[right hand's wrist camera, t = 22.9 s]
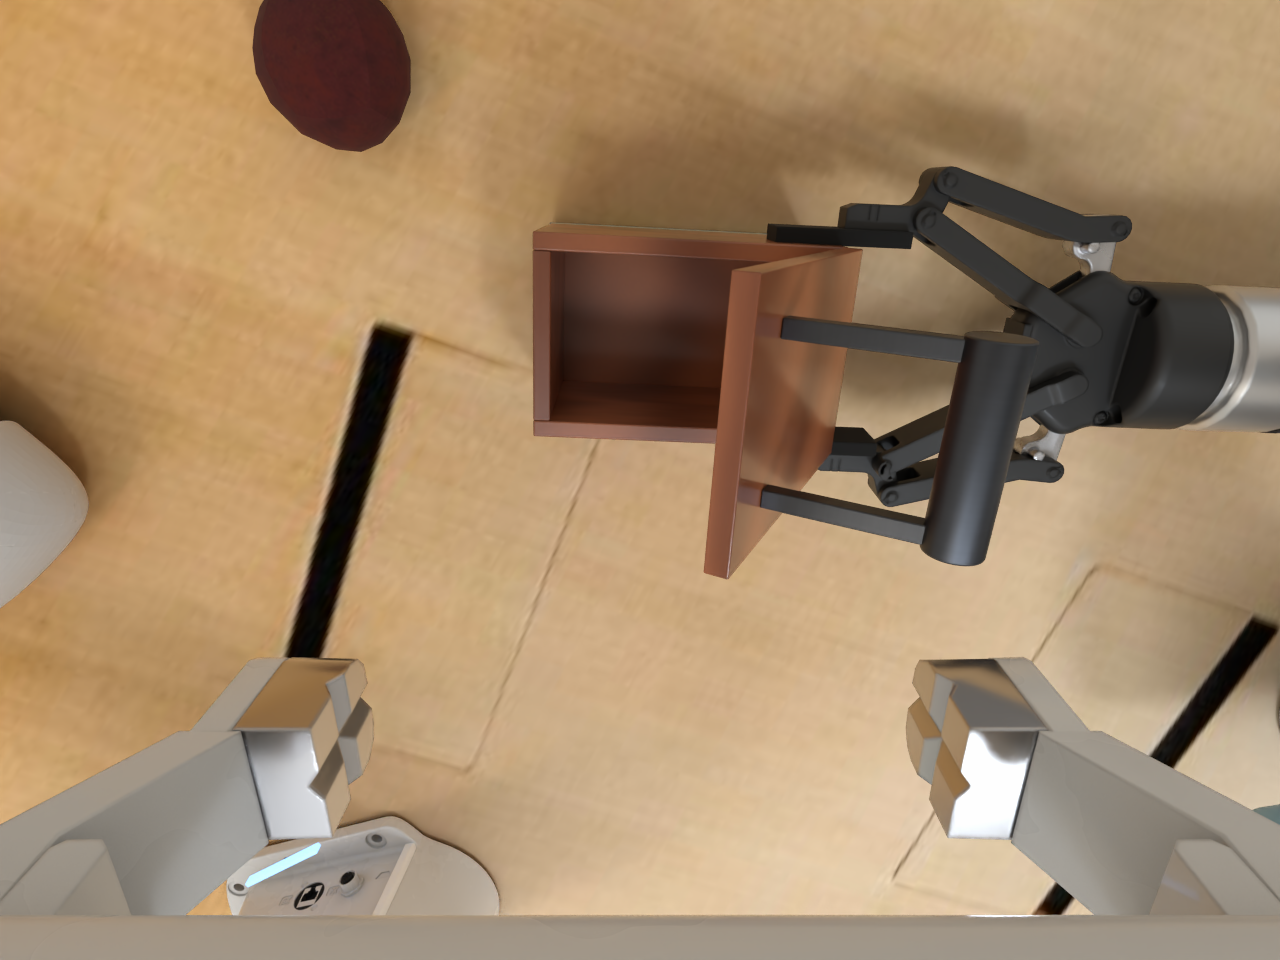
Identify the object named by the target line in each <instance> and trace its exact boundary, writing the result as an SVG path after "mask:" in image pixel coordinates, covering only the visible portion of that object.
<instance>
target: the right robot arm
mask: <svg viewBox="0 0 1280 960" xmlns="http://www.w3.org/2000/svg"><path fill="white" fill-rule="evenodd" d="M366 685H367V678H366V674H365V669H364V664H363V663H362V662H360V661H359V660H358V659H333V658H255V659H252V660H250V661H248V662H247V663H246V665H245V666H244V667H243V668H242V669H241V671H240V672H239V673H238V674H237V675H236V677H235V678H234V679H233V680H232V681H231V683H230V684H229V685H228V686H227V687H226V689H225V690H224V691H223V692H222V693H221V695H220V696H219V697H218V698H217V699H216V701H215V702H214V703H213V704H212V705H211V706H210V708H209V709H208V710H207V711H206V712H205V714H204V715H203V716H202V717H201V718H200V720H199V721H198V722H197V723H196V724H195V726H194V727H193V728H192V729H191V730H190V731H178V732H176V733H174V734H172V735H170V736H169V737H167V738H165V739H163V740H161V741H159V742H157V743H155V744H153V745H151V746H149V747H148V748H146V749H144V750H142V751H140V752H138V753H136V754H134V755H132V756H130V757H128V758H127V759H125V760H123V761H121V762H119V763H117V764H115V765H113V766H111V767H109V768H107V769H106V770H104V771H102V772H100V773H98V774H96V775H94V776H92V777H90V778H88V779H86V780H85V781H83V782H81V783H79V784H77V785H75V786H73V787H71V788H69V789H67V790H65V791H64V792H62V793H60V794H58V795H56V796H54V797H52V798H50V799H48V800H46V801H44V802H42V803H41V804H39V805H37V806H35V807H33V808H31V809H29V810H27V811H25V812H23V813H21V814H20V815H18V816H16V817H14V818H12V819H10V820H8V821H6V822H4V823H2V824H0V960H1280V825H1279V824H1277V823H1275V822H1273V821H1271V820H1269V819H1268V818H1266V817H1264V816H1262V815H1260V814H1258V813H1256V812H1254V811H1252V810H1250V809H1249V808H1247V807H1245V806H1243V805H1241V804H1239V803H1237V802H1235V801H1233V800H1231V799H1229V798H1228V797H1226V796H1224V795H1222V794H1220V793H1218V792H1216V791H1214V790H1212V789H1210V788H1209V787H1207V786H1205V785H1203V784H1201V783H1199V782H1197V781H1195V780H1193V779H1191V778H1189V777H1188V776H1186V775H1184V774H1182V773H1180V772H1178V771H1176V770H1174V769H1172V768H1170V767H1169V766H1167V765H1165V764H1163V763H1161V762H1159V761H1157V760H1155V759H1153V758H1151V757H1150V756H1148V755H1146V754H1144V753H1142V752H1140V751H1138V750H1136V749H1134V748H1132V747H1130V746H1129V745H1127V744H1125V743H1123V742H1121V741H1119V740H1117V739H1115V738H1113V737H1111V736H1110V735H1108V734H1106V733H1104V732H1102V731H1090V730H1089V729H1088V728H1087V727H1086V726H1085V724H1084V723H1083V722H1082V721H1081V720H1080V718H1079V717H1078V716H1077V715H1076V714H1075V713H1074V711H1073V710H1072V709H1071V708H1070V707H1069V705H1068V704H1067V703H1066V702H1065V701H1064V699H1063V698H1062V697H1061V696H1060V695H1059V693H1058V692H1057V691H1056V690H1055V689H1054V687H1053V686H1052V685H1051V684H1050V683H1049V682H1048V680H1047V679H1046V678H1045V677H1044V676H1043V674H1042V673H1041V672H1040V671H1039V670H1038V668H1037V667H1036V666H1035V665H1034V664H1033V662H1032V661H1030V660H1028V659H1026V658H1024V657H1009V658H988V659H948V660H919V662H918V664H917V666H916V668H915V672H914V678H913V685H914V687H915V689H916V691H917V693H918V694H919V696H920V697H919V698H918V699H917V700H916V701H915V702H914V703H913V704H912V705H911V706H910V707H909V708H908V714H907V722H906V736H907V747H908V751H909V754H910V758H911V761H912V764H913V766H914V768H915V770H916V772H917V775H919V776H920V777H921V778H923V779H924V780H925V781H927V782H928V783H930V784H931V785H932V786H931V792H930V797H929V800H930V802H931V804H932V806H933V808H934V810H935V813H936V815H937V817H938V819H939V821H940V823H941V825H942V827H943V829H944V831H945V833H946V835H947V837H948V838H967V839H1002V840H1012V841H1011V843H1012V844H1013V845H1014V846H1015V847H1017V848H1018V849H1019V850H1020V851H1021V852H1022V853H1023V854H1025V855H1026V856H1027V857H1028V858H1029V859H1030V860H1032V861H1033V862H1034V863H1035V864H1036V865H1037V866H1039V867H1040V868H1041V869H1042V870H1043V871H1044V872H1045V873H1047V874H1048V875H1049V876H1050V877H1051V878H1052V879H1054V880H1055V881H1056V882H1057V883H1058V884H1059V885H1061V886H1062V887H1063V888H1064V889H1065V890H1066V891H1067V892H1069V893H1070V894H1071V895H1072V896H1073V897H1074V898H1076V899H1077V900H1078V901H1079V902H1080V903H1081V904H1083V905H1084V906H1085V907H1086V908H1087V909H1088V910H1089V911H1091V912H1092V913H1093V914H1094V915H499V908H500V903H499V896H498V892H497V889H496V887H495V885H494V883H493V881H492V879H491V878H490V876H489V875H488V874H487V872H486V871H485V870H484V869H483V868H482V867H481V866H480V865H479V864H478V863H477V862H476V861H474V860H473V859H472V858H470V857H469V856H467V855H466V854H464V853H463V852H461V851H459V850H457V849H455V848H453V847H451V846H448V845H446V844H443V843H440V842H438V841H435V840H432V839H430V838H428V837H426V836H424V835H423V834H421V833H420V832H419V831H418V830H416V829H415V828H414V827H413V826H411V825H410V824H409V823H407V822H406V821H404V820H402V819H400V818H398V817H394V816H387V817H383V818H379V819H375V820H371V821H367V822H363V823H359V824H355V825H351V826H347V827H343V828H339V829H337V827H338V825H339V823H340V821H341V819H342V817H343V815H344V813H345V810H346V808H347V806H348V804H349V802H350V800H351V797H350V792H349V786H348V785H349V784H350V783H352V782H353V781H355V780H356V779H357V778H359V777H360V776H361V775H363V772H364V770H365V768H366V766H367V763H368V761H369V759H370V754H371V750H372V745H373V740H374V720H373V713H372V708H371V707H370V706H369V705H368V704H367V703H366V702H365V701H364V700H363V699H362V698H361V697H360V696H361V694H362V693H363V691H364V689H365V687H366ZM277 839H295V840H291V841H287V842H283V843H279V844H275V845H271V846H267V847H265V846H266V845H267V844H268V843H269V841H268V840H277ZM226 880H227V897H228V902H229V906H230V910H231V913H232V915H186V914H187V913H188V912H190V911H191V910H192V909H193V908H194V907H195V906H196V905H198V904H199V903H200V902H201V901H202V900H203V899H205V898H206V897H207V896H208V895H209V894H210V893H212V892H213V891H214V890H215V889H216V888H217V887H219V886H220V885H221V884H222V883H223V882H224V881H226Z"/></svg>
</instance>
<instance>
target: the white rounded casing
mask: <svg viewBox="0 0 1280 960" xmlns="http://www.w3.org/2000/svg"><path fill="white" fill-rule="evenodd" d="M88 507H89V501H88V496H87V493H86V490H85V488H84V486H83V485H82V483H81V481H80V480H79V479H78V477H77V476H76V475H75V473H74V472H73V471H72V470H71V469H70V468H69V467H68V466H67V465H66V464H65V463H64V462H63V461H62V460H61V459H60V458H59V457H58V456H57V455H56V454H54V453H53V452H52V451H51V450H50V449H49V448H47V447H46V446H45V445H44V444H43V443H41V442H40V441H39V440H38V439H37V438H35V437H34V436H33V435H32V434H30V433H29V432H28V431H27V430H25V429H24V428H23V427H22V426H20V425H19V424H18V423H16V422H13V421H0V608H1V607H2V606H4V605H5V604H6V603H8V602H9V601H10V600H12V599H13V598H14V597H15V596H17V595H18V594H19V593H20V592H21V591H22V590H24V589H25V588H26V587H27V586H28V585H29V584H30V583H32V582H33V581H34V580H35V579H36V578H37V577H38V576H39V575H40V574H41V573H42V572H43V571H44V570H45V569H46V568H47V567H48V566H49V565H50V564H51V563H52V562H53V561H54V560H55V559H56V558H57V557H58V556H59V555H60V553H61V552H62V551H63V550H64V549H65V548H66V547H67V545H68V544H69V543H70V542H71V541H72V539H73V538H74V537H75V535H76V534H77V532H78V531H79V529H80V528H81V526H82V524H83V522H84V521H85V518H86V515H87V512H88Z"/></svg>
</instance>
